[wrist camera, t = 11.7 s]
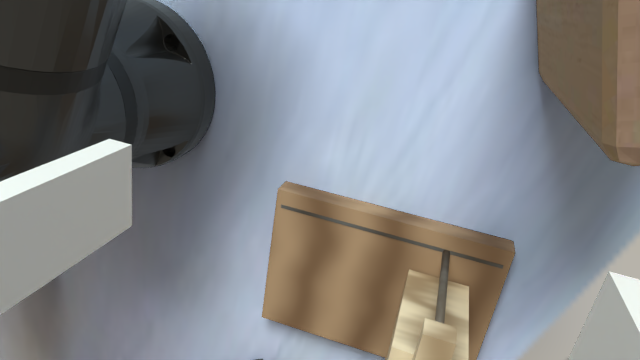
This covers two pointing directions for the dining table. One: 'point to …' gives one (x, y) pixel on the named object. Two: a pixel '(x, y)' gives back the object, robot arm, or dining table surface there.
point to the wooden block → (595, 68)
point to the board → (370, 267)
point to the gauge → (431, 318)
